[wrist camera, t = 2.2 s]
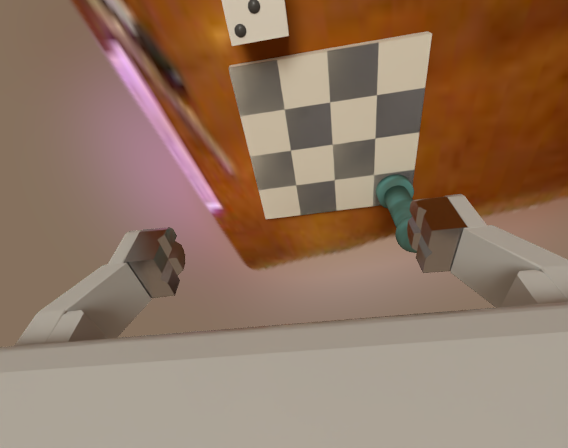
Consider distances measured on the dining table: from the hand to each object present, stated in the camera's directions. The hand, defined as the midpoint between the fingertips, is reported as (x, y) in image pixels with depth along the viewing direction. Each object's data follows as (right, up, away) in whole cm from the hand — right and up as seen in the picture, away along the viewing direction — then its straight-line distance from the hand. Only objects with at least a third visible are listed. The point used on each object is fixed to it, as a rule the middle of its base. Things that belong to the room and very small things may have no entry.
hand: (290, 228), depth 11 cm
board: (+6, +10, +27) cm, 30 cm away
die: (-3, +21, +18) cm, 28 cm away
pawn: (+14, +5, +30) cm, 34 cm away
